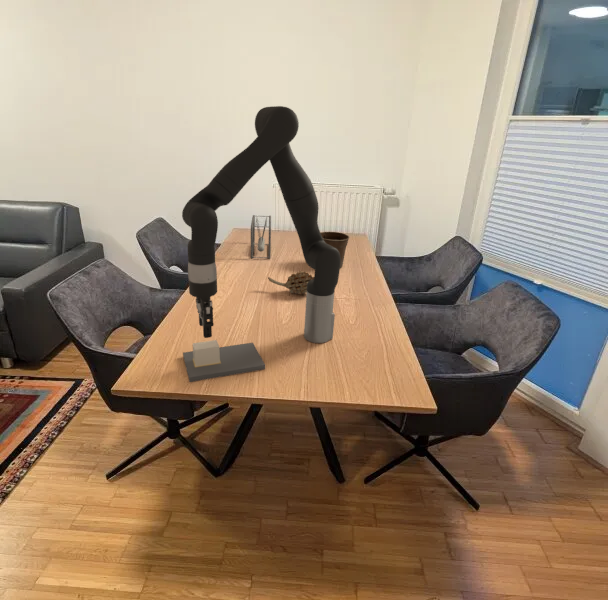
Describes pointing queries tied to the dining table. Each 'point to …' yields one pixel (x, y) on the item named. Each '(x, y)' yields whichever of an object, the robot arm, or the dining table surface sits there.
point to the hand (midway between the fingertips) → (205, 330)
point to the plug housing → (206, 353)
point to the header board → (226, 362)
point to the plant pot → (336, 242)
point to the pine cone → (296, 282)
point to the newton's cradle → (261, 239)
